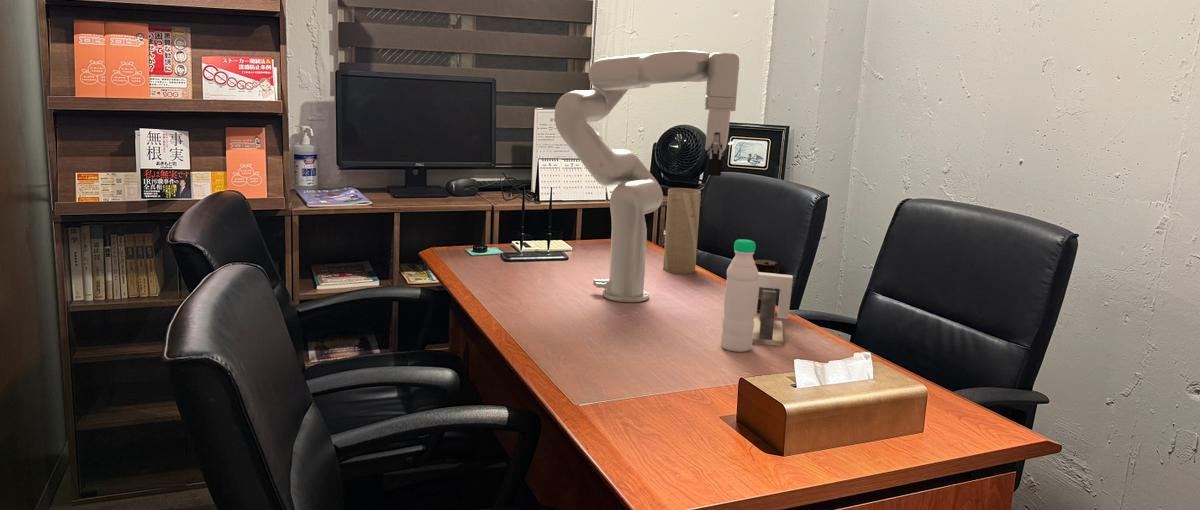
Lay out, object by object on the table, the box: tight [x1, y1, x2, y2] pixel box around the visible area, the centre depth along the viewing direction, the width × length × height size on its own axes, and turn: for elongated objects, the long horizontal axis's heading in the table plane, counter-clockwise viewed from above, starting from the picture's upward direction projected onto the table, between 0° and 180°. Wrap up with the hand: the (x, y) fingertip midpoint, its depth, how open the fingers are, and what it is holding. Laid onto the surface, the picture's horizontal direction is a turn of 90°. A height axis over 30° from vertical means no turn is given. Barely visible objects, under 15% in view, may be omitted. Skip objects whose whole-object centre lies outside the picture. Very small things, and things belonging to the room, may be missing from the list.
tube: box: [662, 187, 702, 275], centre depth 271 cm, size 10×10×25 cm
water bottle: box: [720, 238, 758, 353], centre depth 197 cm, size 7×7×25 cm
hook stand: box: [752, 287, 784, 347], centre depth 210 cm, size 8×17×12 cm, turn 170°
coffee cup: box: [754, 259, 780, 312], centre depth 231 cm, size 9×8×13 cm
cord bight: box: [754, 272, 794, 319], centre depth 209 cm, size 10×3×10 cm, turn 80°
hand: (715, 173), depth 219 cm, fingers open, 9 cm apart
